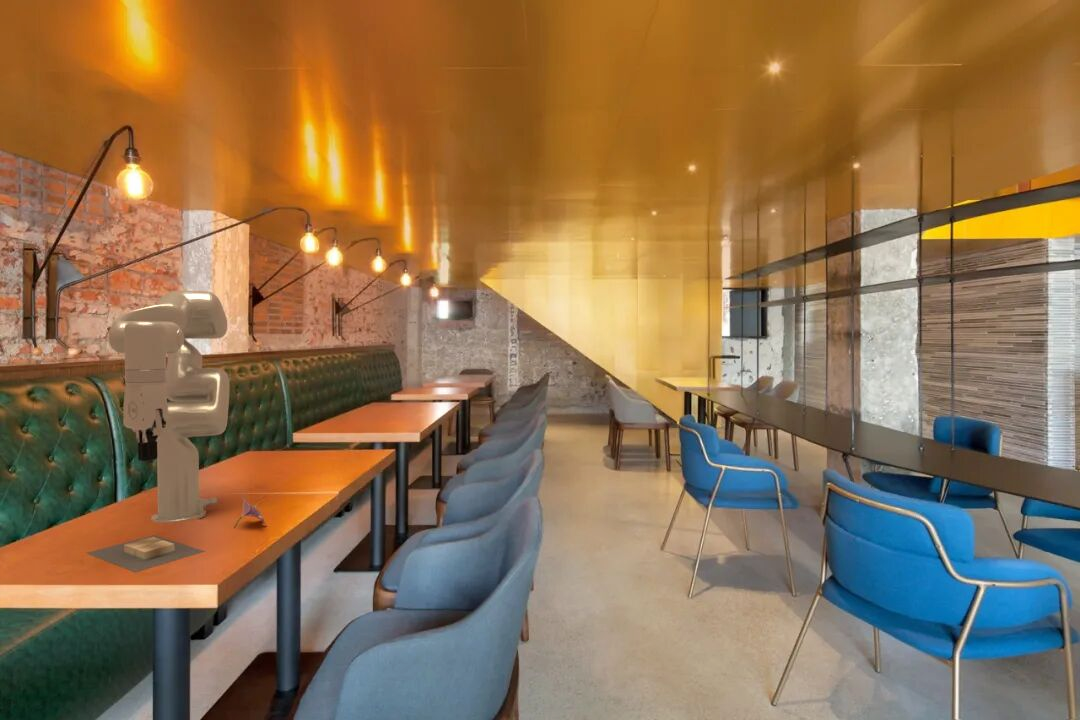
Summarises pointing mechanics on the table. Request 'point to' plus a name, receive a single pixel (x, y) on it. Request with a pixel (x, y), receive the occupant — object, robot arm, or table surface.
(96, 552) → the mat
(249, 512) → the lily
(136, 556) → the tile
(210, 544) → the table surface
